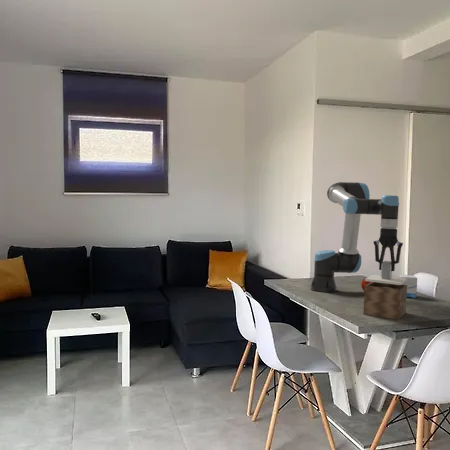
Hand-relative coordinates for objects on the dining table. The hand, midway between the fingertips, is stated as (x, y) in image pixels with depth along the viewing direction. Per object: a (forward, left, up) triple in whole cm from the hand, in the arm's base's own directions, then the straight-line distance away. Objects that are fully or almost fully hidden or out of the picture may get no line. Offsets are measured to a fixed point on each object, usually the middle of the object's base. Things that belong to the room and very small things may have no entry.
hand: (386, 277), depth 223 cm
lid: (0, 0, -2) cm, 2 cm away
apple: (-17, +38, -18) cm, 45 cm away
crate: (0, 0, -17) cm, 17 cm away
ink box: (+1, +52, -18) cm, 55 cm away
